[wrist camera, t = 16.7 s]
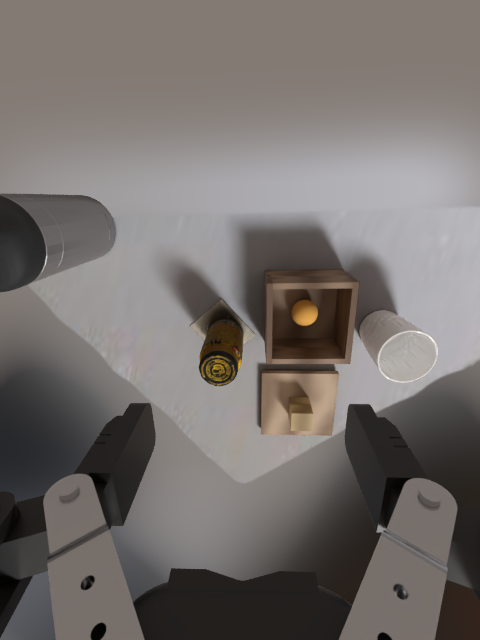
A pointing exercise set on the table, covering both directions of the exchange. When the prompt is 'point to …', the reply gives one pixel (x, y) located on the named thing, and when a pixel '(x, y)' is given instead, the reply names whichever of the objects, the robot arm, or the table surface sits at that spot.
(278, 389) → the lid
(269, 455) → the table surface
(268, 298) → the box
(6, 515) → the robot arm
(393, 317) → the white cup
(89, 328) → the table surface
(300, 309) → the ball
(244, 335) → the condiment
